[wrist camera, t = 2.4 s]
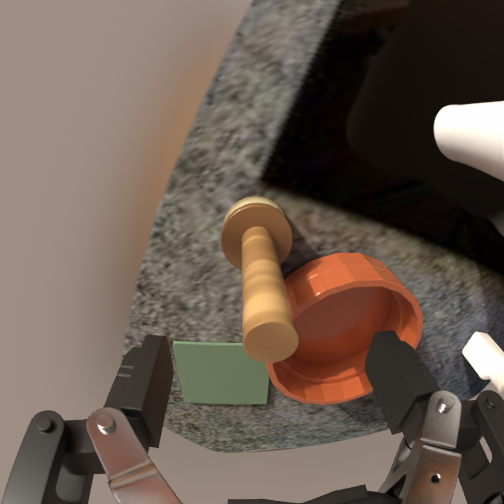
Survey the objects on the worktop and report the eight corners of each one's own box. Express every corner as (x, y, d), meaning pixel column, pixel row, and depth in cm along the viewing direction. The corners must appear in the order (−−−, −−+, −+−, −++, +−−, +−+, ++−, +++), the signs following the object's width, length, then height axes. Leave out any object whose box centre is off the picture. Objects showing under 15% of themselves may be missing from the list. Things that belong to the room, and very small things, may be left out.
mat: (173, 340, 28) (172, 343, 28) (272, 342, 29) (272, 344, 28) (185, 400, 32) (184, 402, 32) (266, 401, 33) (266, 404, 32)
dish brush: (222, 196, 23) (199, 285, 10) (289, 197, 23) (347, 285, 10) (223, 256, 25) (208, 386, 12) (285, 257, 25) (324, 383, 12)
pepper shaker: (487, 331, 31) (521, 371, 22) (473, 353, 32) (503, 394, 24) (474, 329, 30) (510, 372, 22) (459, 352, 32) (491, 396, 23)
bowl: (265, 249, 25) (271, 281, 20) (411, 250, 25) (442, 277, 20) (259, 370, 30) (262, 409, 25) (378, 361, 31) (395, 394, 26)
